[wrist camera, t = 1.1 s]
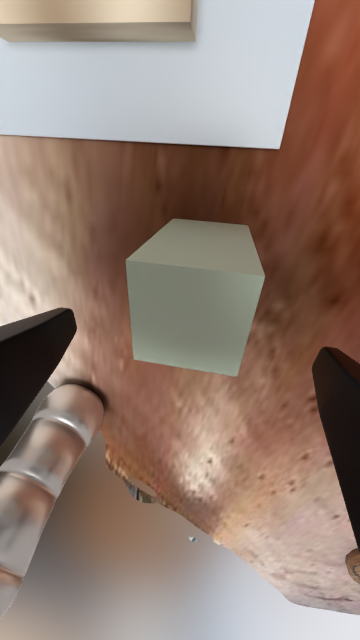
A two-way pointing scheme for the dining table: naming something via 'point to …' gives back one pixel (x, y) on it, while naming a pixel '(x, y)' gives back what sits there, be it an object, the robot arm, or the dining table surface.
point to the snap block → (194, 295)
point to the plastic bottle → (41, 477)
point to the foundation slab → (98, 20)
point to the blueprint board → (164, 81)
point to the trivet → (354, 564)
